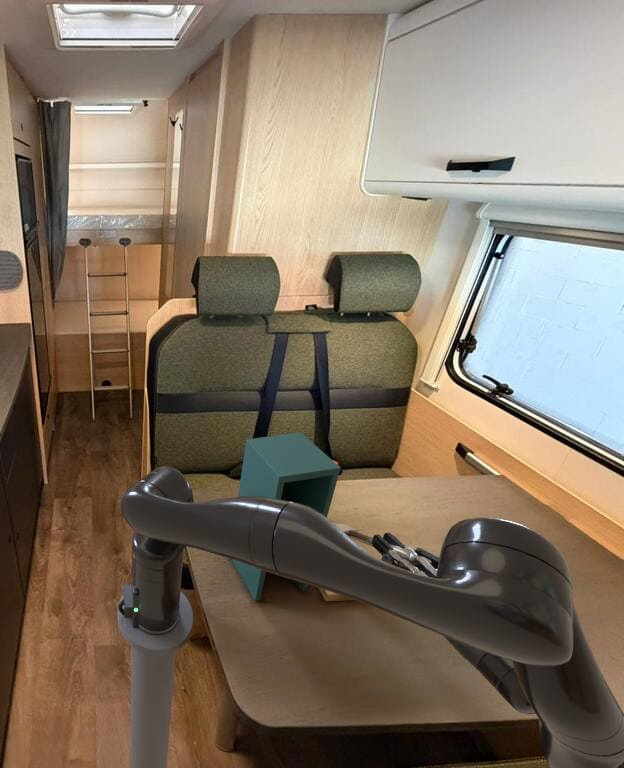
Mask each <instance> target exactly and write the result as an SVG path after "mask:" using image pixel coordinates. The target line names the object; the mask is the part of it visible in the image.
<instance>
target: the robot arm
mask: <svg viewBox="0 0 624 768" xmlns="http://www.w3.org/2000/svg"><path fill="white" fill-rule="evenodd" d="M194 500H195V498H194V493H193V489H192V486H191V484H190V483H189V480H188V479H187V477H186V476H185V475H184V474H183V473H182V472H181V471H180V470H178V469H177V468H174V467H173V466H172V467H171V466H169V465H168V466H167V465H165V466H159V467H156V468H154V469H153V470H152V471H150V472H149V473H147V474H146V475H144V476H143V477H142V478H140V479H139V480H137V482H135V483H134V484H132V485H131V486H130V487H129V488H128V489H127V490H126V491H125V492H124V494H123V495H122V498H121V500H120V507H119V508H120V512H121V515H122V517H123V519H124V521H125V523H127V524H128V526H129V527H130V528H131V529H133V530H134V532H133V535H132V539H131V567H130V584H123V585H122V586H123V590H122V591H123V594H122V596H124V599H123V600H122V601H121V602H120V601H119V602H120V603H119V602H118V604H117V605H118V606H117V610H118V609H119V611H120V612H121V613H122V615H125V618H132V623H133V628H139V629H141V630H142V631H143V632H145V633H148V634H151V635H163V634H166V633H168V632H170V631H171V630H173V629H174V628H175V626H176V625H177V623H178V620H179V608H180V606H179V604H180V601H181V599H180V591H181V590H182V577H183V576H182V575H183V563H184V554H185V553H184V552H185V549H186V547H188V548H192V549H196V550H200V551H203V552H206V553H210V554H214V555H217V556H220V557H224V558H227V559H231V560H232V559H233V560H236V561H239V562H242V563H245V564H247V565H250V566H253V567H255V568H258V569H261V570H264V571H266V573H270V574H273V575H276V576H278V577H282V578H284V579H285V578H286V579H288V580H292V581H294V582H296V581H299V582H302V583H305V584H309V586H312V587H314V588H315V587H316V588H317V589H319V588H321V589H324V590H327V591H330V592H333V593H336V594H339V595H342V596H345V597H348V598H351V599H354V600H353V601H355V602H356V601H357V602H360V603H362V604H365V605H367V606H370V607H373V608H375V609H378V610H380V611H382V612H385V613H388V614H390V615H392V616H395V617H398V618H399V619H402V620H405V621H406V622H409V623H412V624H414V625H417V626H418V627H421V628H424V629H426V630H428V631H431V632H433V633H435V634H438V635H441V636H443V637H444V639H446V640H447V642H448V643H449V644H450V645H451V646H452V647H453V648H454V649H455V650H456V651H457V652H458V653H459V655H461V657H463V658H464V660H466V661H467V662H468V663H469V664H470V665H472V666H473V667H474V668H475V669H476V671H477V672H479V673H480V675H482V676H483V678H485V680H486V681H487V682H488V683H489V684H490V685H491V686H492V687H493V688H494V689H495V690H496V691H497V693H498V694H499V695H500V696H501V697H502V698H503V699H504V700H505V701H506V702H507V703H508V704H509V706H511V707H512V708H513V709H515V710H516V711H517V712H519V713H521V714H524V715H535V716H536V717H537V718H538V732H539V742H540V746H541V750H542V754H543V755H544V758H545V760H546V762H547V764H548V767H549V768H624V711H623V709H622V708H621V706H620V704H619V702H618V700H617V699H616V697H615V695H614V693H613V692H612V689H611V688H610V686H609V685H608V683H607V681H606V679H605V676H604V675H603V673H602V670H601V669H600V667H599V664H598V662H597V660H596V659H595V655H594V653H593V652H592V649H591V647H590V645H589V643H588V639H587V638H586V635H585V632H584V630H583V627H582V624H581V623H580V619H579V617H578V613H577V611H576V607H575V604H574V597H573V595H574V593H573V580H572V575H571V572H570V568H569V565H568V563H567V561H566V559H565V557H564V555H563V553H562V552H561V551H560V550H559V548H558V547H557V546H556V545H555V544H554V543H552V542H551V541H550V540H549V539H547V538H546V537H545V536H543V534H540V533H539V532H537V531H536V530H533V529H531V528H529V527H527V526H525V525H523V524H520V523H517V522H514V521H510V520H506V519H502V518H496V517H487V516H478V517H471V518H465V519H463V520H459V521H457V522H456V523H455V524H453V525H452V526H451V527H450V528H449V530H448V531H447V532H446V534H445V536H444V539H443V541H442V544H441V548H440V554H439V556H437V555H435V554H434V553H431V552H429V551H427V550H425V549H423V548H421V547H416V549H412V547H409V546H406V545H405V544H404V543H403V542H402V541H401V540H400V539H399V538H398V537H397V536H396V535H394V534H392V533H391V532H384V533H383V536H381V535H380V534H374V535H373V537H372V538H373V539H372V545H373V547H372V548H374V549H375V550H376V551H377V552H378V553H379V554H380V555H381V558H378V557H377V556H375V555H373V554H371V553H370V552H368V551H367V550H366V549H364V548H363V547H361V546H360V545H359V544H358V543H357V542H356V541H355V540H354V539H352V538H350V537H349V536H347V535H346V534H345V533H344V532H343V531H342V530H341V529H340V528H339V527H337V526H336V525H335V524H336V523H334V522H333V521H332V520H331V519H329V518H328V516H327V517H325V516H324V515H323V514H321V513H320V512H318V511H316V510H315V509H313V508H311V507H309V506H306V505H303V504H299V503H295V502H290V501H284V500H279V499H274V498H269V497H262V496H244V497H238V496H237V497H235V496H234V497H228V498H223V499H216V500H210V501H202V502H195V501H194ZM388 543H389V544H391V545H394V546H397V547H400V548H402V549H405V550H408V551H411V552H413V553H416V554H417V555H418V556H419V561H418V562H417V563H413V562H410V561H408V560H407V559H403V558H402V557H401V556H400V555H399V554H398V553H397V552H395V551H394V550H393V548H392V547H391V546H390V545H389V544H388ZM427 560H428V561H427ZM429 561H430V562H429ZM181 592H182V591H181ZM123 605H124V609H123V608H122V606H123Z"/></svg>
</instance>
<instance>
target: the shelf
mask: <svg viewBox="0 0 624 768" xmlns="http://www.w3.org/2000/svg"><path fill="white" fill-rule="evenodd" d="M340 472H341V466H340V465H338V464H337V463H336V462H335V461H334V460H333V459H331V458H330V457H329V456H328V455H327V454H326V453H325V452H324V451H323V450H321V449H320V448H319V447H318V446H317V445H316V444H315V443H313V441H311V440H310V439H309V438H308V437H307V436H306V435H305V434H304V433H302V432H295V433H294V432H292V433H286V434H278V435H271V436H263V437H256V438H255V437H254V438H249V439H246V441H245V447H244V453H243V461H242V466H241V474H240V481H239V487H238V494H237V497H244V496H262V497H269V498H274V499H279V500H284V501H290V502H295V503H299V504H303V505H306V506H309V507H311V508H313V509H315V510H316V511H318V512H320V513H321V514H323V515H324V516H325V517H327V518H328V515H329V511H330V508H331V505H332V502H333V501H332V500H333V497H334V494H335V489H336V486H337V483H338V479H339V475H340ZM231 561H232V562H233V564H234V566H235V568H236V570H237V571H238V573H239V575H240V577H241V579H242V580H243V582H244V584H245V586H246V587H247V589H248V591H249V593H250V594H251V596H252V597H253V598H252V599H253V600H254V602H258V601H261V599H262V594H263V588H264V585H265V579H266V574H267V571H264V570H261V569H258V568H255V567H253V566H250V565H247V564H245V563H242V562H239V561H236V560H233V559H231ZM295 584H297V586H298V587H299V589H300V590H301V591H302V592H305V591H308V590H309V586H310V585H309V584H305V583H302V582H299V581H295Z"/></svg>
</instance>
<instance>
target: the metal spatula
mask: <svg viewBox="0 0 624 768" xmlns="http://www.w3.org/2000/svg"><path fill="white" fill-rule="evenodd" d="M334 524H335V525H336V526H337V527H339V528H340V529H341V530H342V531H343V532H344V533H345V534H346V535H347V536H349V537H350V538H351V539H352V540H353V541H357V542H359V543H362V544H363V545H367V546H370V547H372V548H374V547H373V545H372V539H373V537H372V536H370V535H367V534H364V533H361V532H359V529H357V528H355V527H351V526H349V525H346V524H343V523H341V522H339V523H334ZM388 544H389V543H388ZM389 545H390V546H391V547H392V548H393V550H394V551H395V552H397V553H398V554H399V555H400V556H401V557H402V558H403V559H407V560H408V561H410V562H413V563H417V562H418V561H419V556H418V555H417V554H416V553H413V552H411V551H408V550H405V549H402V548H400V547H397V546H394V545H391V544H389Z"/></svg>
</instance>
